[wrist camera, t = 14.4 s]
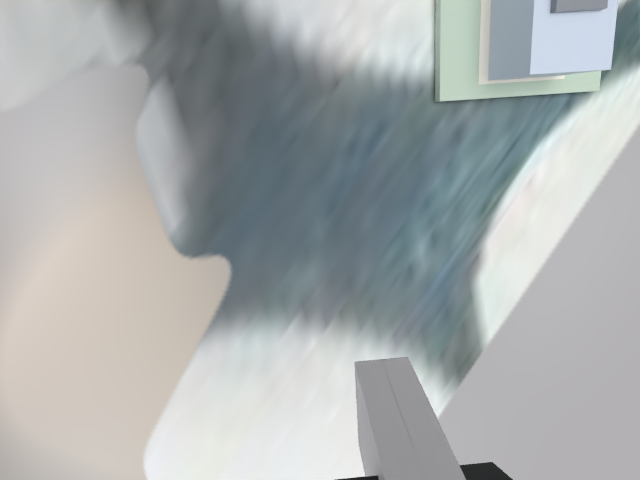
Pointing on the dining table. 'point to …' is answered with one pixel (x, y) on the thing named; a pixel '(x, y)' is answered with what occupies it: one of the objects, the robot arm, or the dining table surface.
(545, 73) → the plug
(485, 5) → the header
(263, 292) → the dining table surface
